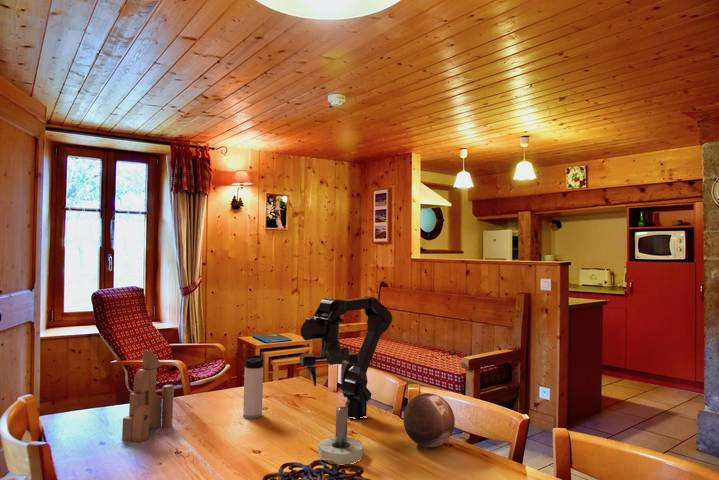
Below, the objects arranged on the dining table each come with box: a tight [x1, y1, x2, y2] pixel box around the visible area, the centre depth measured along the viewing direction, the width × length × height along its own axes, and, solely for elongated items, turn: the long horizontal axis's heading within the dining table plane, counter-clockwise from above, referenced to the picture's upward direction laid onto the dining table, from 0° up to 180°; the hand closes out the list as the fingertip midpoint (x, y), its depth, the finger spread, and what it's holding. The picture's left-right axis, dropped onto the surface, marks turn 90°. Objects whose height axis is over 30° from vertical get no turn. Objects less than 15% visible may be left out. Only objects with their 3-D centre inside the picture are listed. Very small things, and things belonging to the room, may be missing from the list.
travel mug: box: [242, 354, 264, 420], centre depth 165 cm, size 6×7×20 cm
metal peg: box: [335, 406, 349, 449], centre depth 134 cm, size 3×3×13 cm
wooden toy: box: [121, 349, 175, 443], centre depth 148 cm, size 16×7×25 cm, turn 166°
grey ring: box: [318, 436, 365, 464], centre depth 133 cm, size 12×12×3 cm
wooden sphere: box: [402, 392, 456, 448], centre depth 143 cm, size 15×15×15 cm
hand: (328, 385), depth 157 cm, fingers open, 9 cm apart
